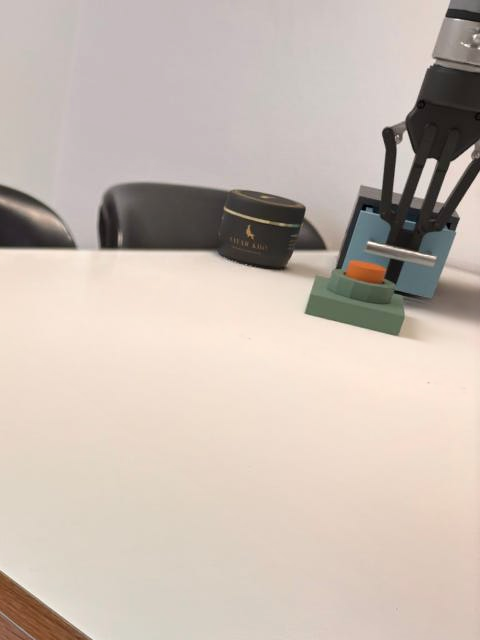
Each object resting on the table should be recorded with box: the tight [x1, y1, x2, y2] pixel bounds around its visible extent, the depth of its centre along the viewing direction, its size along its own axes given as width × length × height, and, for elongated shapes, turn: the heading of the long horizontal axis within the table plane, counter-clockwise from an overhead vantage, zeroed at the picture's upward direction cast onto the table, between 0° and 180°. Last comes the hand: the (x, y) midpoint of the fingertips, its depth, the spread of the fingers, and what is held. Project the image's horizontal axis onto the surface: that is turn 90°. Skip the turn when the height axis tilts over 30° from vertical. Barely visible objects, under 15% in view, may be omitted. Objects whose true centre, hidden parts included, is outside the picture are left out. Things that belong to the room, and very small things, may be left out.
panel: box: [304, 268, 406, 337], centre depth 118 cm, size 12×10×4 cm
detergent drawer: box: [342, 204, 457, 300], centre depth 133 cm, size 20×11×8 cm, turn 162°
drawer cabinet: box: [334, 184, 461, 269], centre depth 143 cm, size 15×13×10 cm
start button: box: [346, 260, 386, 284], centre depth 117 cm, size 4×4×2 cm
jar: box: [216, 188, 307, 270], centre depth 135 cm, size 10×10×8 cm
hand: (387, 286), depth 129 cm, fingers closed
